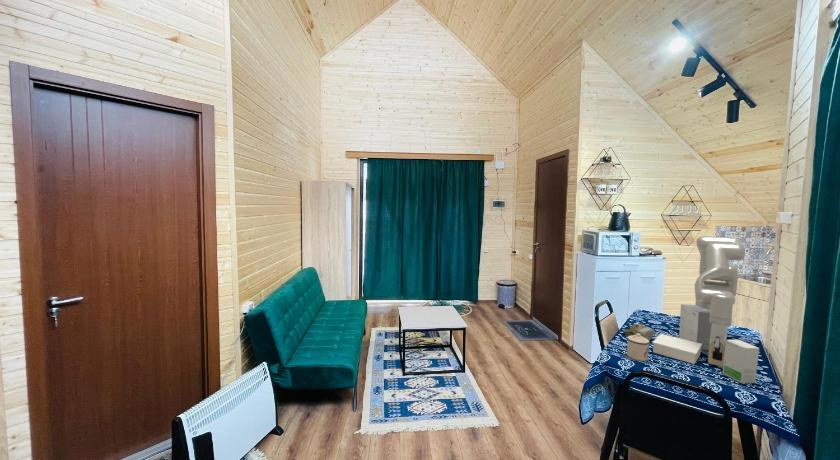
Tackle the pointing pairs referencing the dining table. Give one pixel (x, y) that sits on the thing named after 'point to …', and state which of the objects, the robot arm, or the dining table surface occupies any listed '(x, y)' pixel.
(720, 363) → the kraft carton
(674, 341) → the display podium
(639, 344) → the teacup with lid
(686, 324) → the hard drive box
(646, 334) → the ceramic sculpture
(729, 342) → the skincare box
